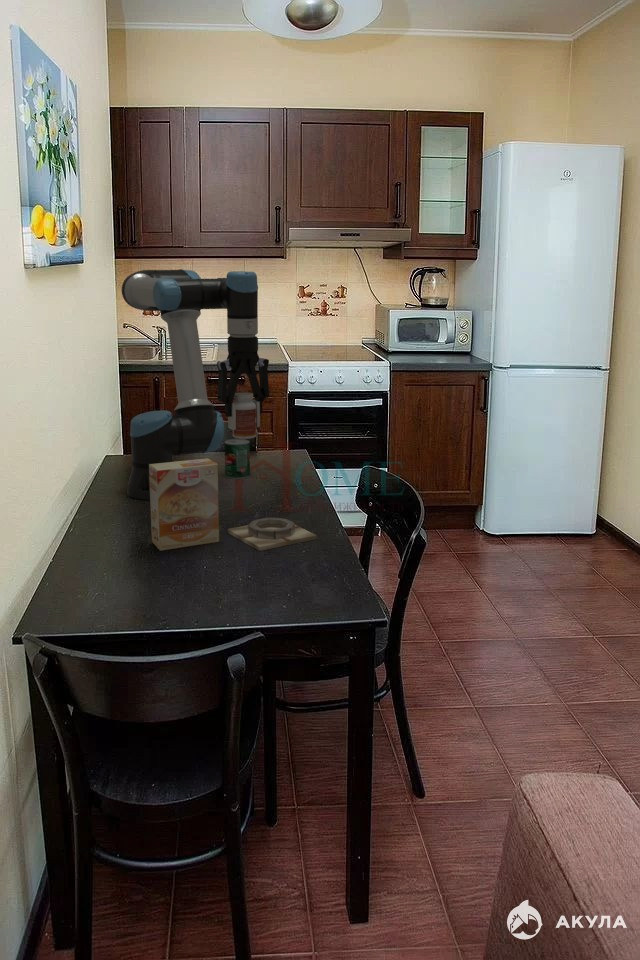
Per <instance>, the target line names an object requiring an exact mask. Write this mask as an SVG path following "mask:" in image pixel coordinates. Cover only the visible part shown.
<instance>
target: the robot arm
mask: <svg viewBox="0 0 640 960" xmlns="http://www.w3.org/2000/svg"><path fill="white" fill-rule="evenodd" d="M257 275H258V274H256V272H255V271H246V270H245V271H244V270H239V271H237V270H235V271H231V270H230V271H228V272H227V274H226V277H217V278H201V276H200V274H198V273H197V272H196V271H195V270H191V269H182V268H180V269H143V270H138V271H135V272H133V273H131V274H129V275H128V276H126V278H125V279H124V280H123V282H122V284H121V296H122V298H123V300H124V302H125V303H126V304H127V305H129V306H130V307H131V308H132V309H133V308H134V309H135V310H141V311H145V312H146V311H147V312H160V318H161V320H163V321H164V322H165V323H166V324H167V330H168V338H169V344H170V346H169V347H170V351H171V359H172V360H171V361H172V367H173V374H174V375H173V376H174V380H175V387H176V397H177V402H178V403H177V405H176V407H174V409H173V412H174V414H172V412H171V411H169V410H165V409H164V410H161V409H160V410H151V411H146V412H143V413H140V414H137V415H136V416H134V417H132V419H131V420H130V428H129V429H130V430H129V431H130V432H129V436H130V450H131V462H132V463H131V465H132V466H131V467H132V468H131V472H130V474H129V475H130V476H129V479H128V483H127V487H126V488H127V489H126V490H127V496H128V497H130V498H133V499H136V500H147V501H150V480H149V464H157V463H167V462H174V456H183V455H194V454H205V453H209V452H215V451H216V450H219V448H220V447H221V445H222V442H223V439H224V432H225V426H224V425H225V424H224V419H223V417H222V416H223V414H221V412H220V411H217V410H215V405H214V404H213V403H212V402H211V401H210V400H209V399H208V394H207V386H206V385H207V384H206V377H205V372H204V364H203V363H204V362H203V358H202V357H203V356H202V350H201V343H200V335H199V327H198V321H197V320H198V318H199V317H200V316H201V315H202V312H201V310H226V313H227V314H226V318H227V319H226V324H227V326H226V327H227V334H228V335H229V336H228V337H227V353H228V354H227V357H226V359H224V360H222V361H220V360H218V361H217V362H216V366H217V370H218V374H217V375H218V377H217V378H218V381H217V401H218V402H221V403H224V414H225V416H226V417H227V428H228V429H230V430H231V431H232V430H236V404H234V402H233V401H234V400H235V399H234V395H235V393H236V390H237V387H238V384H239V379H240V378H241V376H242V375H243V374H246V376H247V378H248V381H249V385H250V388H251V391H252V392H251V393H252V394H253V399H254V400H252V402H254V403H255V405H256V428H260V427H261V414H262V413H263V402H265V399H269V398H270V386H269V374H268V373H269V372H268V368H269V362H270V360H269V359H268V358H263V357H259V354H258V352H259V338H258V336H257V335H258V333H259V329H258V328H259V321H258V320H259V317H258V316H259V315H258V313H259V311H258V310H259V308H258V307H259V306H258V304H259V302H258V301H259V300H258V298H259V297H258V296H259V295H258V294H259V293H258V291H259V285H258V276H257ZM257 365H258V373H257V369H256V367H257ZM229 367H230V372H229V379H228V369H229ZM257 376H258V377H257ZM258 378H259V379H258Z"/></svg>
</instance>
